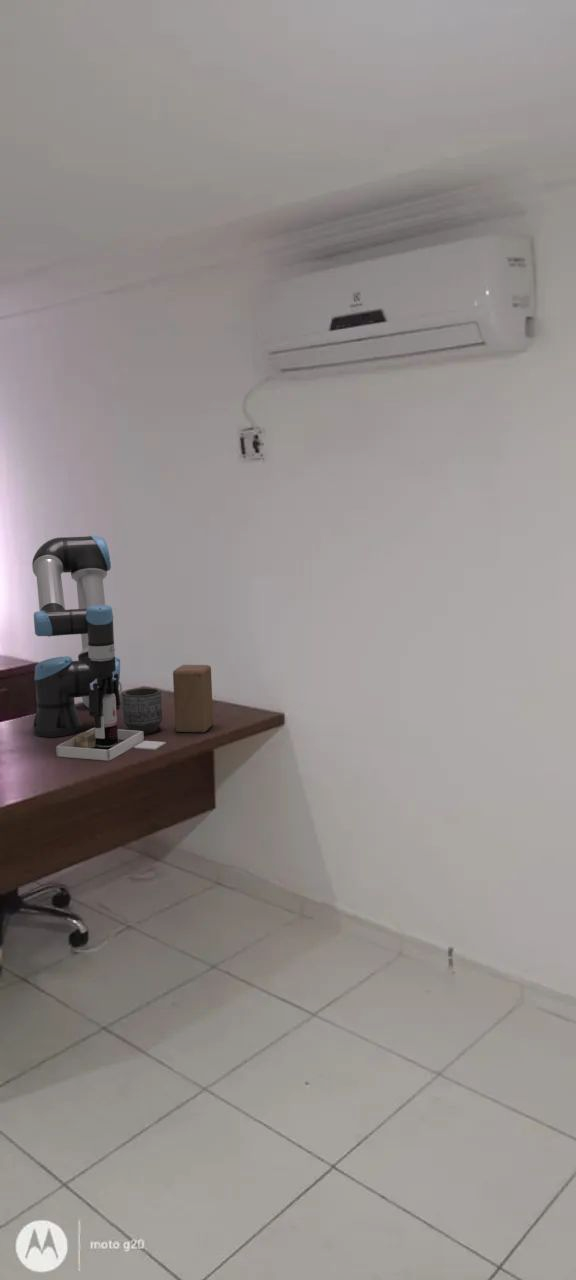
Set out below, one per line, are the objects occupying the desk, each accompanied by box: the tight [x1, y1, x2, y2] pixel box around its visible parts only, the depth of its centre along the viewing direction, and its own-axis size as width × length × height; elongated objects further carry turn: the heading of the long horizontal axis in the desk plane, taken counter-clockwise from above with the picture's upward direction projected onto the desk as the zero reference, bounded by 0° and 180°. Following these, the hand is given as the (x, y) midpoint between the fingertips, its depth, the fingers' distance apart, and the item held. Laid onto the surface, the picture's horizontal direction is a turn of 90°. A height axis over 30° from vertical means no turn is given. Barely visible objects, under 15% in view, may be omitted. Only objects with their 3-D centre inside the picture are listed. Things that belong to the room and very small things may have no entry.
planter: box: [121, 687, 163, 735], centre depth 293 cm, size 12×12×13 cm
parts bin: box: [55, 727, 145, 761], centre depth 275 cm, size 17×21×3 cm
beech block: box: [75, 732, 96, 749], centre depth 276 cm, size 4×4×4 cm
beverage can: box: [93, 693, 119, 748], centre depth 273 cm, size 6×7×15 cm
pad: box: [133, 740, 167, 751], centre depth 276 cm, size 7×7×1 cm
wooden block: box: [172, 664, 214, 734], centre depth 293 cm, size 10×10×20 cm
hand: (106, 734), depth 274 cm, fingers closed on beverage can, 6 cm apart
